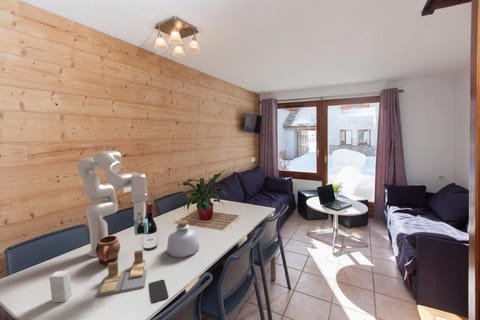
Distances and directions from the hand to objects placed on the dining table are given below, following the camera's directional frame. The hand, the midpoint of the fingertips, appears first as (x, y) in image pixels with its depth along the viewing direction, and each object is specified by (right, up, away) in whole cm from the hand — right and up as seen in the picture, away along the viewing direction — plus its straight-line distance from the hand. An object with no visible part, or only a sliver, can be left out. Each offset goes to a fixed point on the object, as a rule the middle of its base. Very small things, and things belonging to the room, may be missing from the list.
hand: (141, 230), depth 122 cm
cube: (0, -1, 0) cm, 1 cm away
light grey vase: (+16, -20, +24) cm, 36 cm away
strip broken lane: (-12, -22, -7) cm, 26 cm away
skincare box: (-28, -25, -19) cm, 42 cm away
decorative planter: (-23, -22, +11) cm, 34 cm away
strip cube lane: (-2, -21, +1) cm, 21 cm away
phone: (+14, -25, -14) cm, 32 cm away
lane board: (-5, -23, -8) cm, 25 cm away
